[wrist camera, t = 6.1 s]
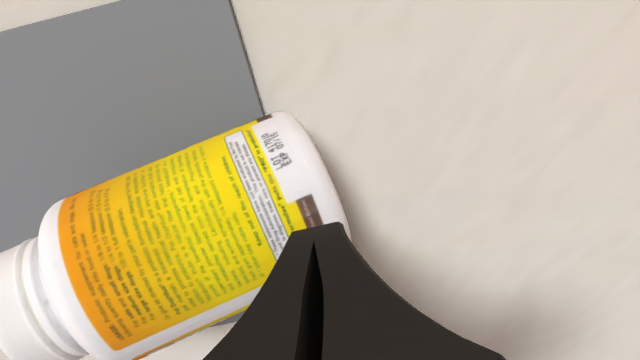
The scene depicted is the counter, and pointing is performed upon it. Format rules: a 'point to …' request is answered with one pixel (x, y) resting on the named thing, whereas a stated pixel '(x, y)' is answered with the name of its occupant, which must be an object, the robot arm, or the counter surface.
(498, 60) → the counter surface
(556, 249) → the counter surface
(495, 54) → the counter surface
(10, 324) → the supplement bottle
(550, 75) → the counter surface
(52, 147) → the mat
